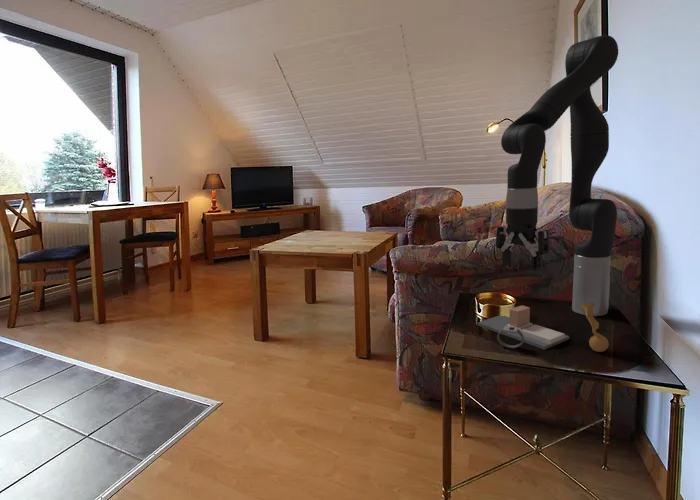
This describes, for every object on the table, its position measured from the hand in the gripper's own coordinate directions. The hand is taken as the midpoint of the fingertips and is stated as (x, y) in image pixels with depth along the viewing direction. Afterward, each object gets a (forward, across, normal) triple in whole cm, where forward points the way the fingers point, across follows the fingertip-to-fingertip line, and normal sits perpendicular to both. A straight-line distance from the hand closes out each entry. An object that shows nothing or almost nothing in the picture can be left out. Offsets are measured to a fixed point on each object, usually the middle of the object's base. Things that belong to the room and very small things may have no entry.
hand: (520, 267), depth 113 cm
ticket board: (+18, 0, 0) cm, 18 cm away
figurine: (+18, -18, -3) cm, 26 cm away
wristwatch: (+18, -5, +10) cm, 21 cm away
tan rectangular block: (+18, 0, 0) cm, 18 cm away
